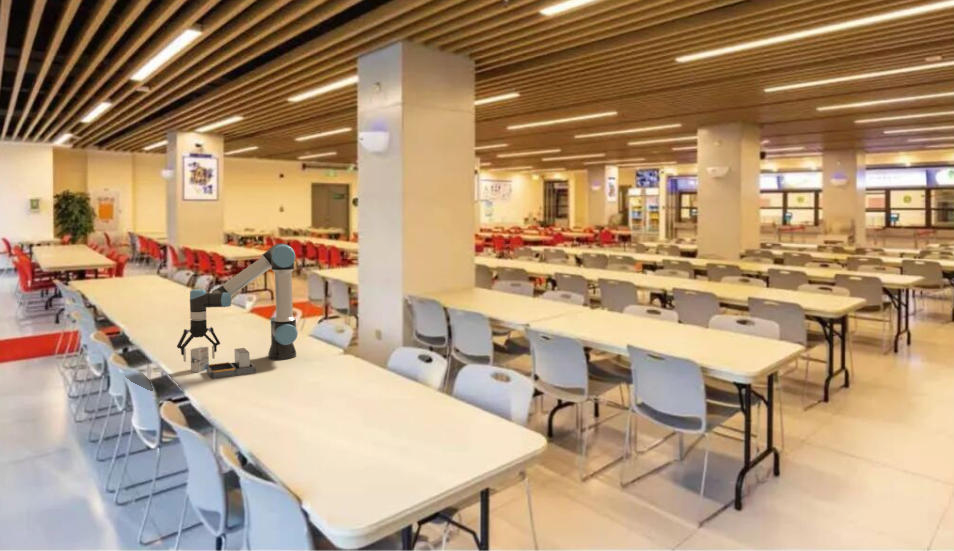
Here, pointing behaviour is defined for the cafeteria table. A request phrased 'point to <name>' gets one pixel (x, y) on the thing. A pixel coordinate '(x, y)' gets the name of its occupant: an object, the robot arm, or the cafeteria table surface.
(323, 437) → the cafeteria table surface
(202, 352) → the ink box
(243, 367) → the rack
